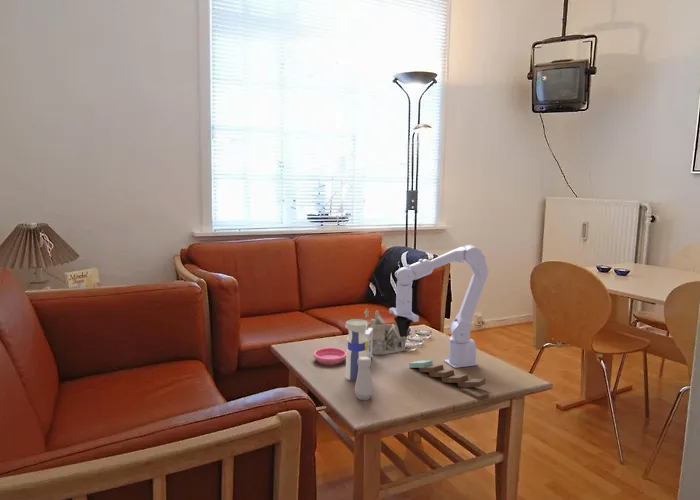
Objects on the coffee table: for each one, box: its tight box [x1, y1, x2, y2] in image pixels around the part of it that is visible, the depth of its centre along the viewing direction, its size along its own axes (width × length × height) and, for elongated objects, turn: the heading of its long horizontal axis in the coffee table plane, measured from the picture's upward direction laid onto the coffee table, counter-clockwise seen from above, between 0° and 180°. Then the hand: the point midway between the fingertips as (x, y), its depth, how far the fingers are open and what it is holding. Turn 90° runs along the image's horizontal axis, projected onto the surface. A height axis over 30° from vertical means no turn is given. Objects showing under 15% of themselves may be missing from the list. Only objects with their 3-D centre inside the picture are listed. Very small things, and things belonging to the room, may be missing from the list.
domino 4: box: [441, 373, 469, 384], centre depth 178 cm, size 2×4×8 cm
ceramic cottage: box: [369, 310, 407, 355], centre depth 212 cm, size 16×16×15 cm
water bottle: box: [344, 307, 370, 382], centre depth 182 cm, size 8×9×25 cm
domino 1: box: [408, 359, 434, 369], centre depth 191 cm, size 2×4×8 cm
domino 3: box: [428, 369, 455, 378], centre depth 183 cm, size 2×4×8 cm
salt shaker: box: [354, 357, 374, 401], centre depth 166 cm, size 6×6×13 cm
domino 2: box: [418, 364, 445, 373], centre depth 187 cm, size 2×4×8 cm
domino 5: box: [457, 378, 486, 388], centre depth 174 cm, size 2×4×8 cm
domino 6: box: [460, 387, 489, 400], centre depth 171 cm, size 2×4×8 cm
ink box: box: [365, 327, 373, 360], centre depth 199 cm, size 9×5×12 cm, turn 168°
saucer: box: [313, 347, 347, 366], centre depth 199 cm, size 12×12×3 cm
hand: (403, 336), depth 197 cm, fingers closed
